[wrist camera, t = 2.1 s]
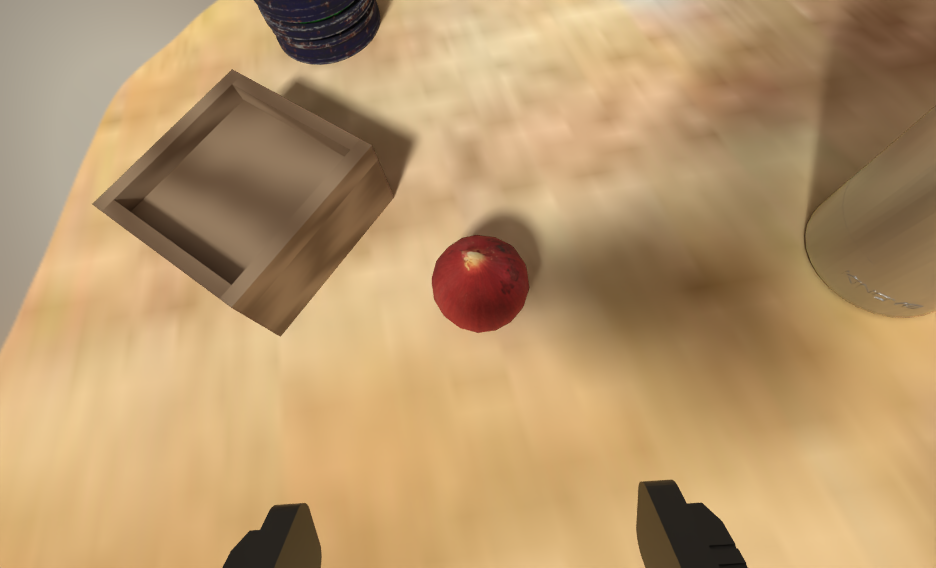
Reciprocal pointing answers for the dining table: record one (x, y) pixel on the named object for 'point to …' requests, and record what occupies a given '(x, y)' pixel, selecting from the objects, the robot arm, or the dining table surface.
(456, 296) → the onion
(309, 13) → the storage jar
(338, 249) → the wooden square tray
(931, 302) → the robot arm
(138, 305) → the dining table surface
